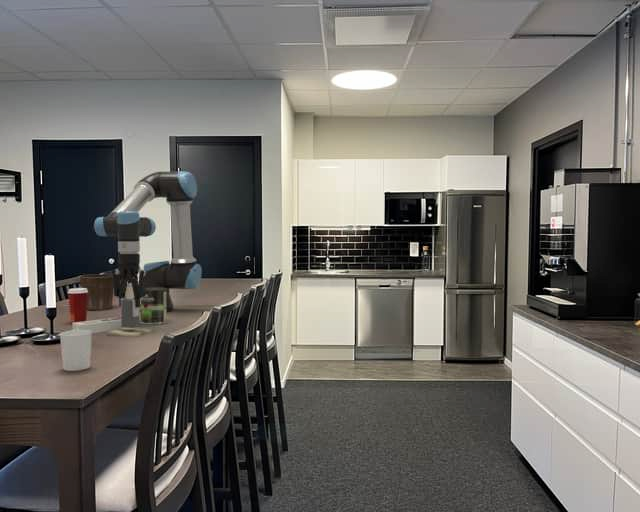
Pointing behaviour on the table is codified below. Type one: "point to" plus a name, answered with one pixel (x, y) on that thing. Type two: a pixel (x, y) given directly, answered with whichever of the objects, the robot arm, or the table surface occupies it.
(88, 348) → the white cup
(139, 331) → the birch pad
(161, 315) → the coffee can
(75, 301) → the paper cup
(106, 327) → the power strip
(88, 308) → the plant pot
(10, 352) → the table surface
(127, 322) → the block
